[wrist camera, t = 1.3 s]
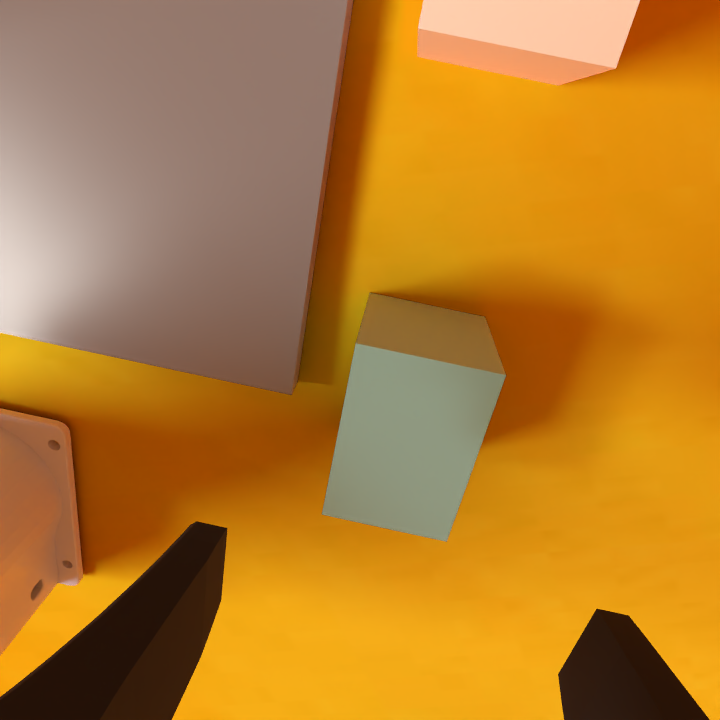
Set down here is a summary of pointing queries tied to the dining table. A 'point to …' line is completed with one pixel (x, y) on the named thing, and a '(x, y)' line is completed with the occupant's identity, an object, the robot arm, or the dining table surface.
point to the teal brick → (413, 416)
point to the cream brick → (527, 36)
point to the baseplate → (167, 177)
